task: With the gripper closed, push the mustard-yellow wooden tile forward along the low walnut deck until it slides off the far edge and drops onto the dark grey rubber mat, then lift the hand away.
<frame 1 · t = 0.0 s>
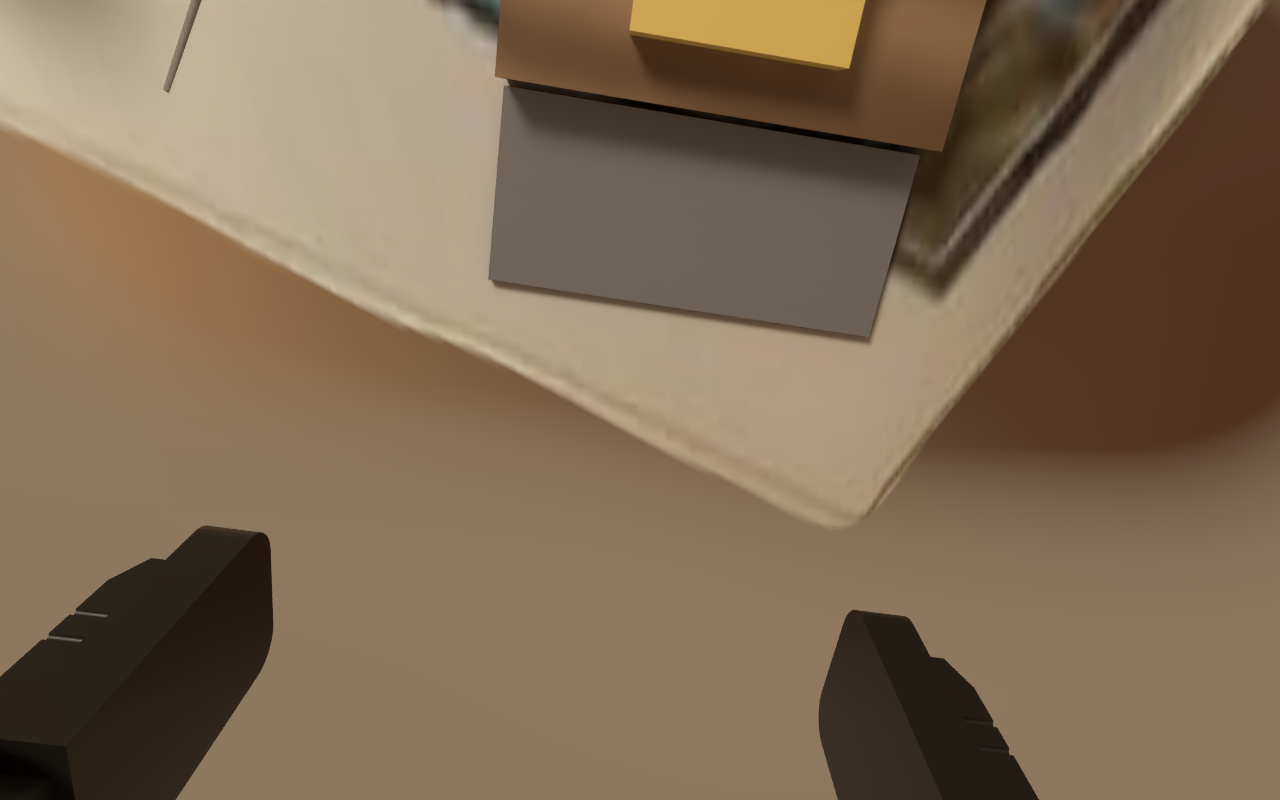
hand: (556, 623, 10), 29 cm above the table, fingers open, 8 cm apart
mat: (697, 217, 37), on the table
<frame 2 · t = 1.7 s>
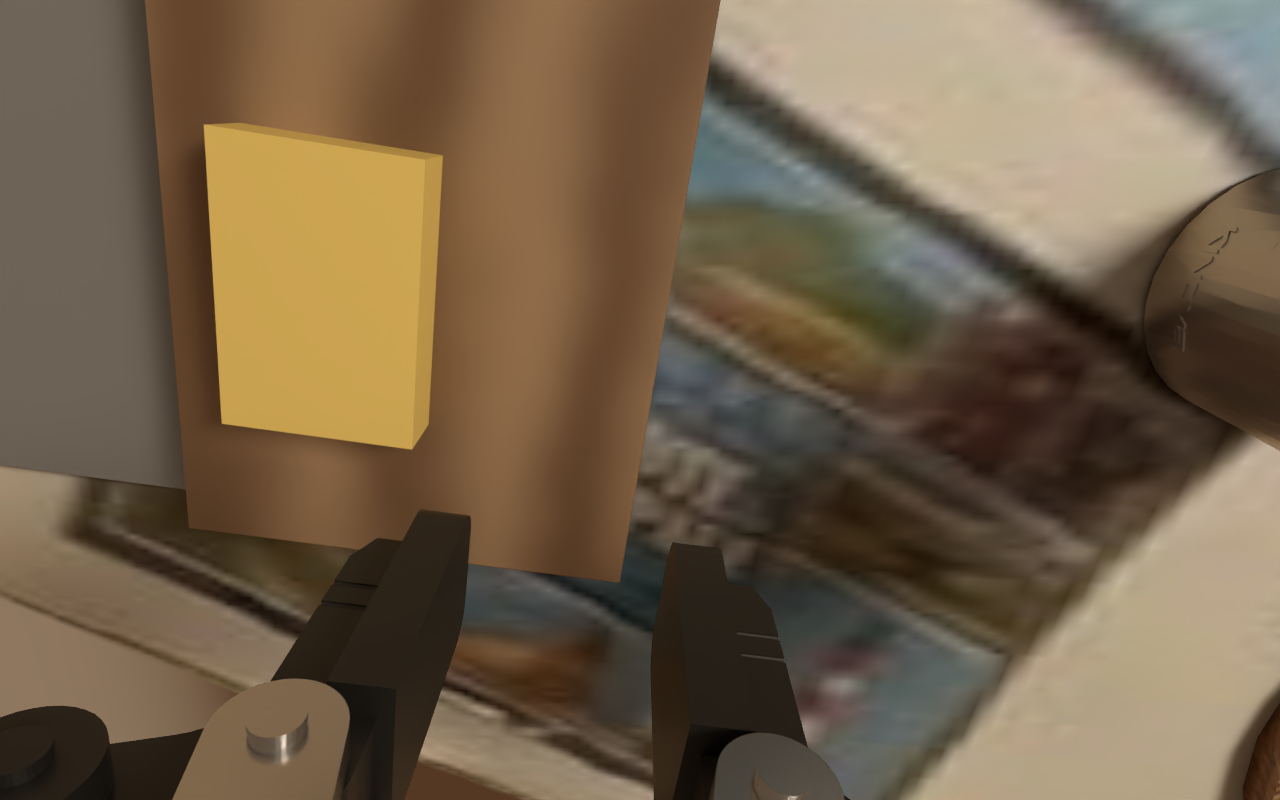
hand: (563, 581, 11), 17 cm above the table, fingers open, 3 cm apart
mat: (74, 221, 26), on the table
tile: (341, 285, 24), point 3 cm above the table, touching deck
deck: (442, 276, 27), on the table
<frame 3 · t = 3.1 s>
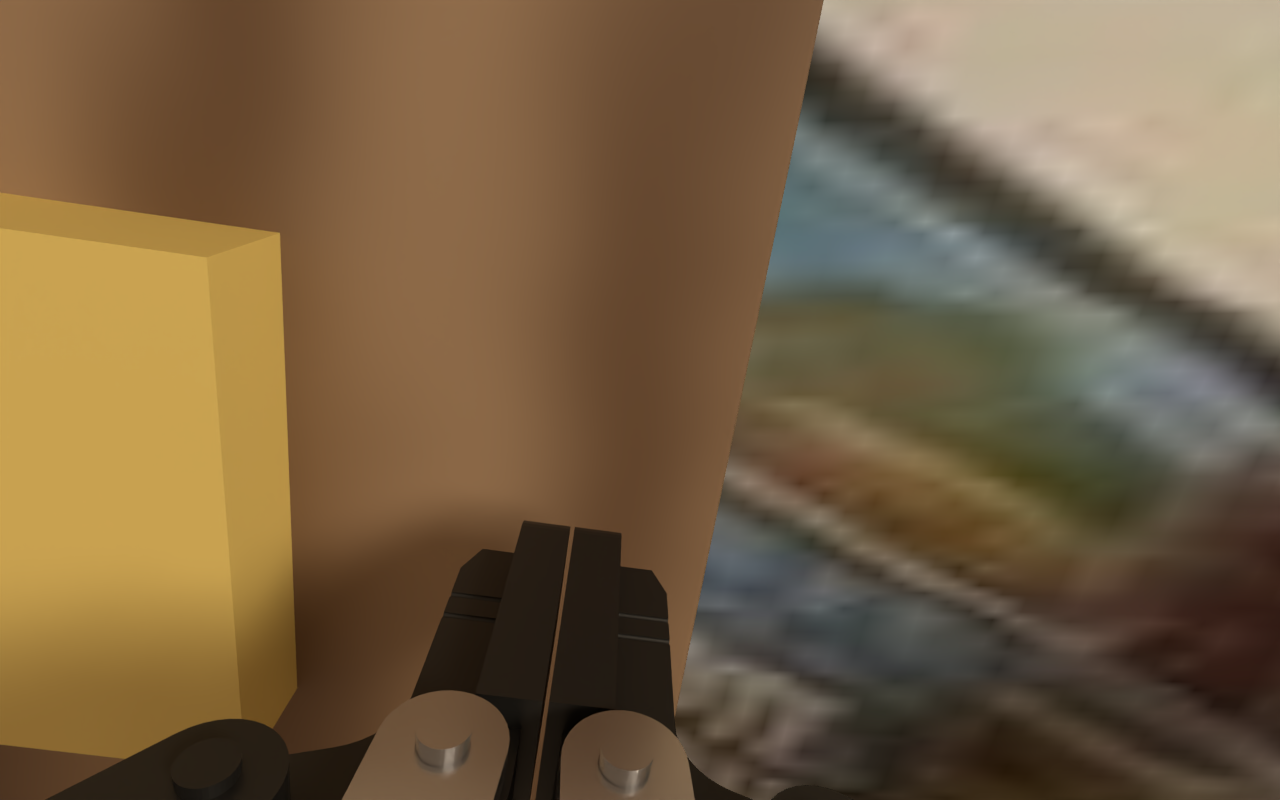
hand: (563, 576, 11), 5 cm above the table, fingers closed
tile: (116, 466, 13), point 3 cm above the table, touching deck
deck: (330, 418, 16), on the table
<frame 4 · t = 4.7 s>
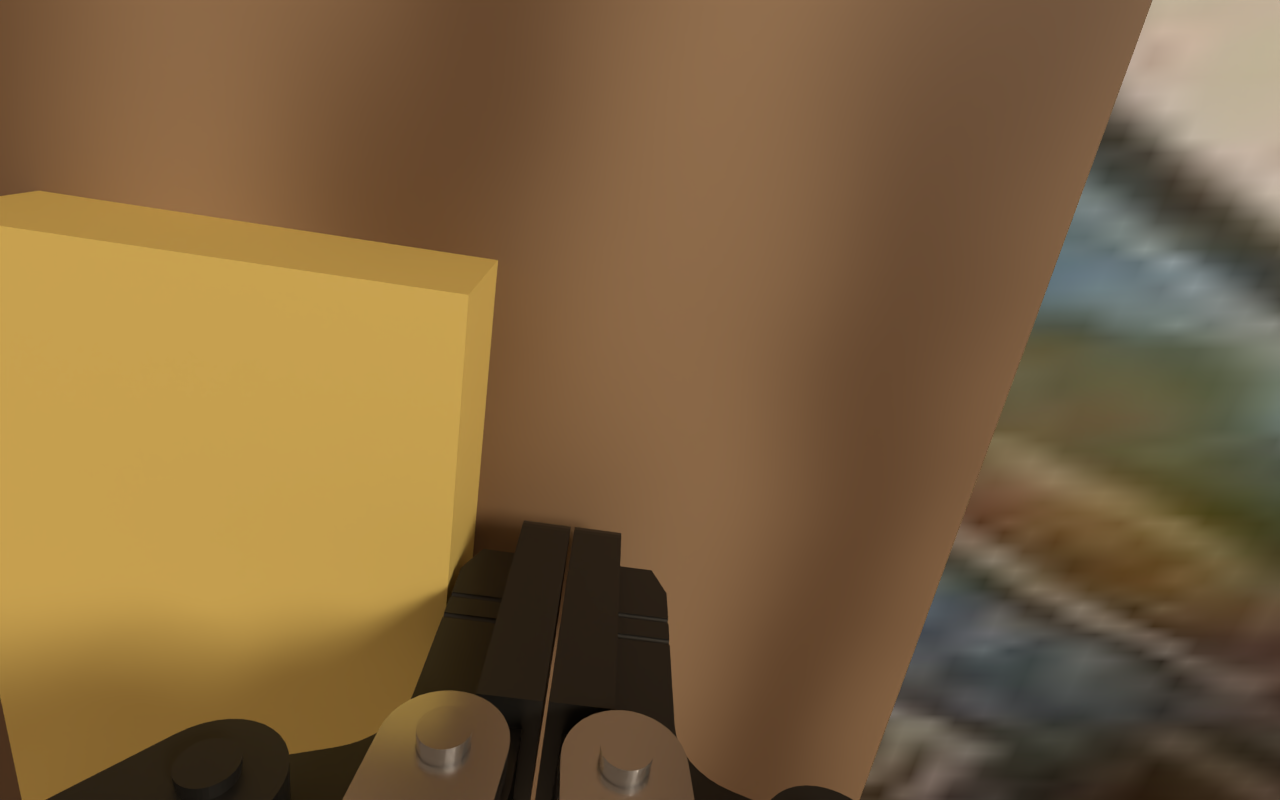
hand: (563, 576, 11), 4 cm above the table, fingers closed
tile: (281, 515, 11), point 3 cm above the table, touching deck, gripper
deck: (483, 454, 14), on the table
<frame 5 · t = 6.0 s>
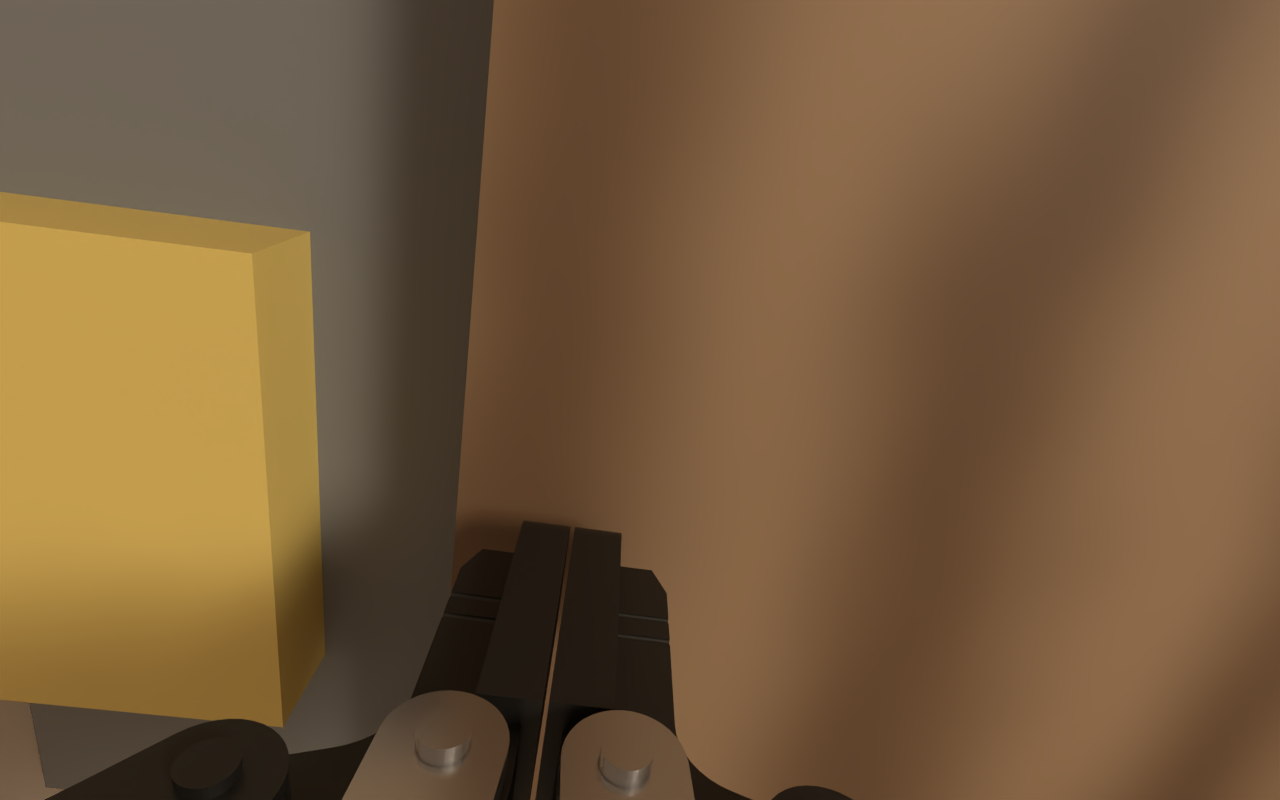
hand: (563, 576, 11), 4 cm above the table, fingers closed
mat: (237, 417, 14), on the table
tile: (84, 502, 12), point 2 cm above the table, tilted 180°, touching mat
deck: (883, 508, 15), on the table
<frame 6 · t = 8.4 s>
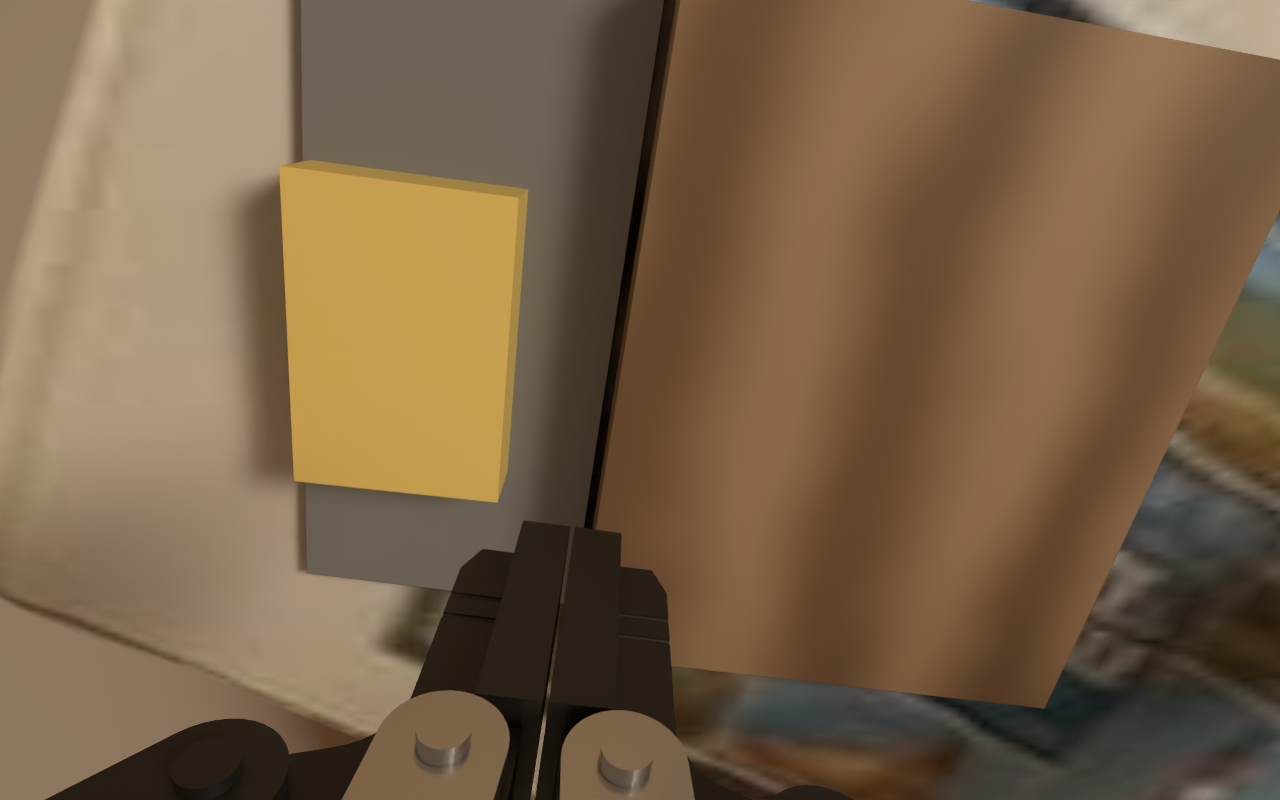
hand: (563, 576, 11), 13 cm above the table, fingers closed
mat: (464, 310, 23), on the table
tile: (398, 349, 20), point 2 cm above the table, tilted 180°, touching mat
deck: (870, 370, 24), on the table
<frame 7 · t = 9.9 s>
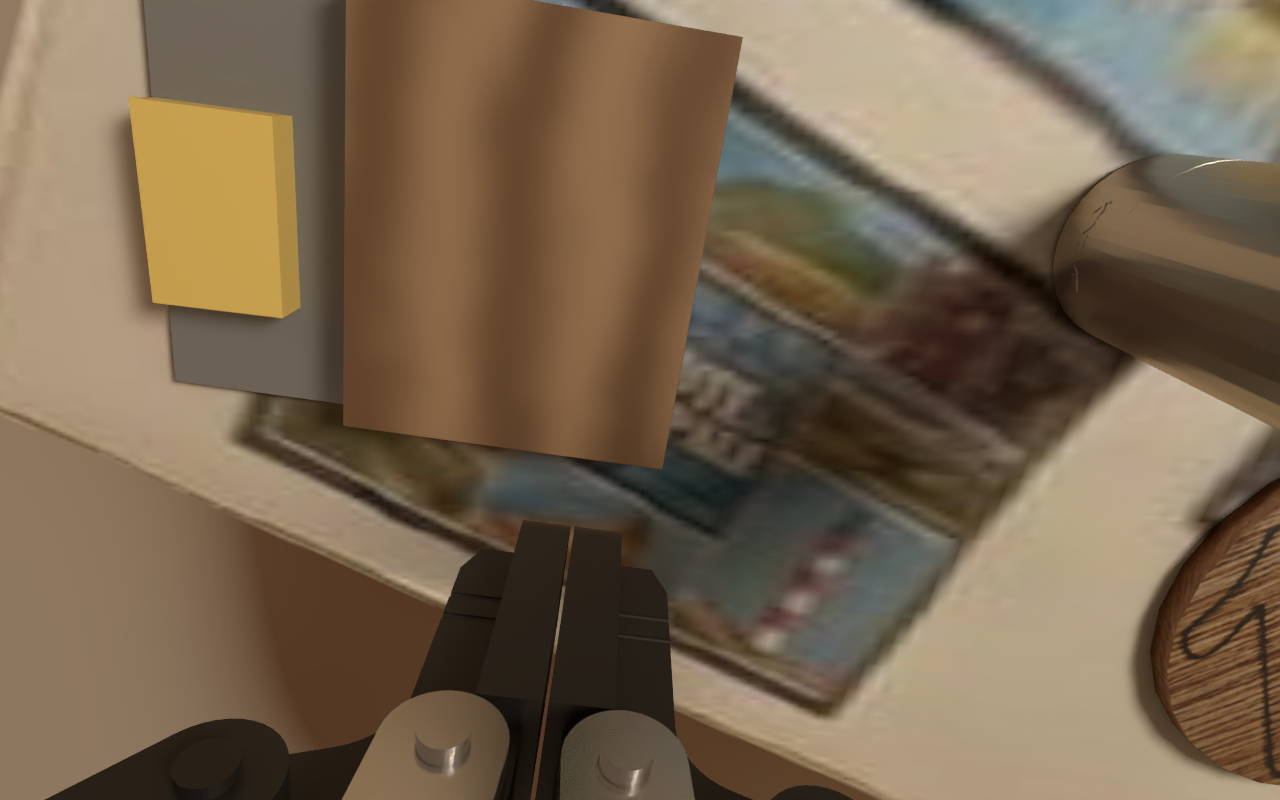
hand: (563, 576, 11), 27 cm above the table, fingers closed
mat: (263, 197, 35), on the table
tile: (209, 213, 33), point 2 cm above the table, tilted 180°, touching mat
deck: (532, 238, 36), on the table
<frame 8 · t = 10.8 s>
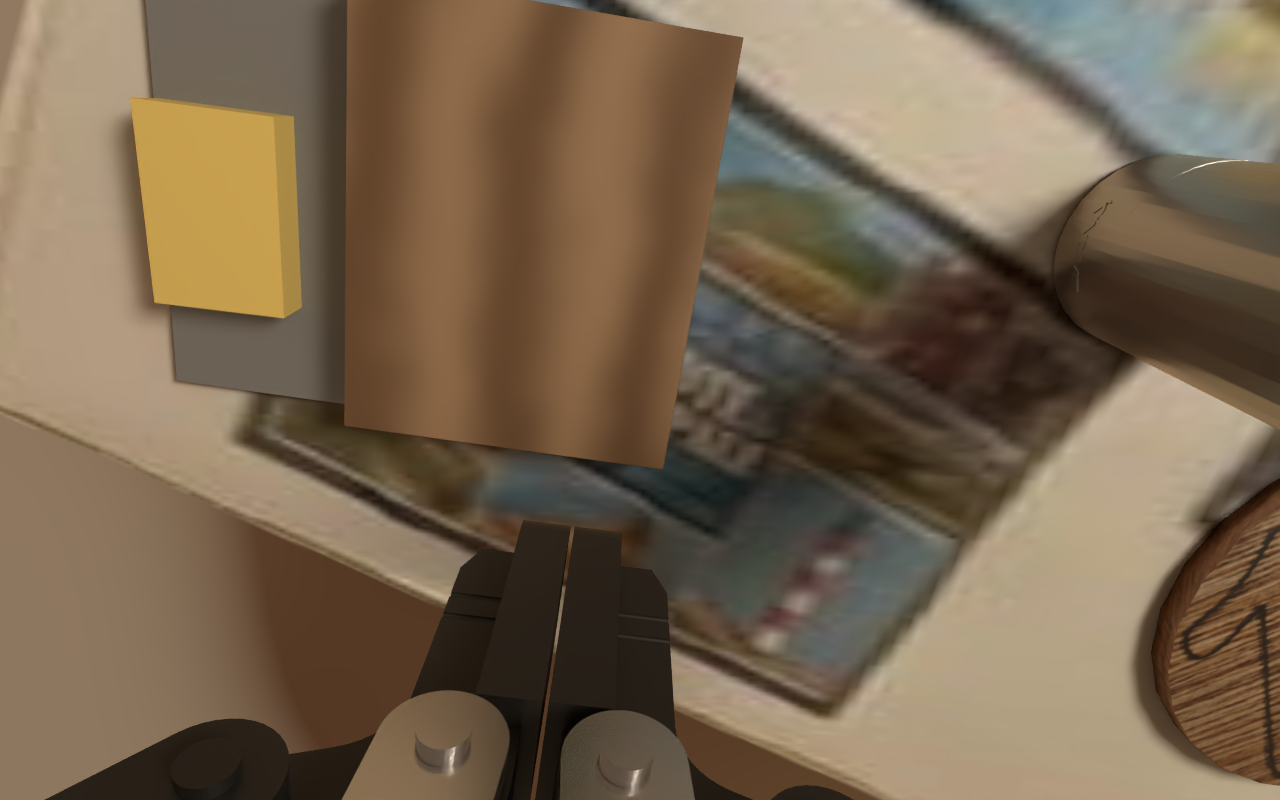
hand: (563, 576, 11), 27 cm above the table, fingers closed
mat: (265, 197, 35), on the table
tile: (211, 214, 33), point 2 cm above the table, tilted 180°, touching mat
deck: (533, 239, 36), on the table
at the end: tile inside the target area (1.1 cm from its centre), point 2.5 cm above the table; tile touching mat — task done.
